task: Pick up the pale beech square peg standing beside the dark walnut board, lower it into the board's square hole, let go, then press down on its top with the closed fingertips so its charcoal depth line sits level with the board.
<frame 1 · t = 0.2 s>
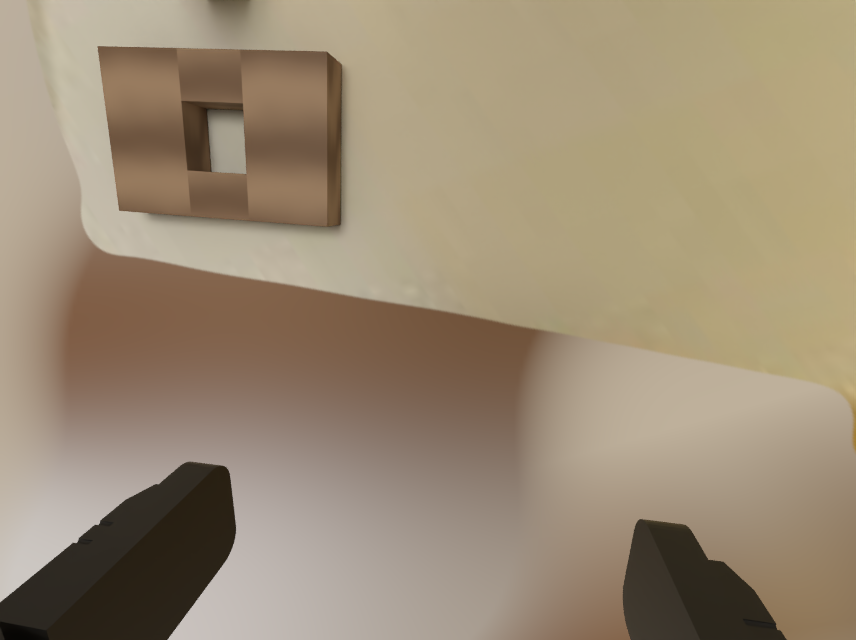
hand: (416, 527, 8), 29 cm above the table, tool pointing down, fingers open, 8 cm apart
walnut board: (236, 142, 36), on the table
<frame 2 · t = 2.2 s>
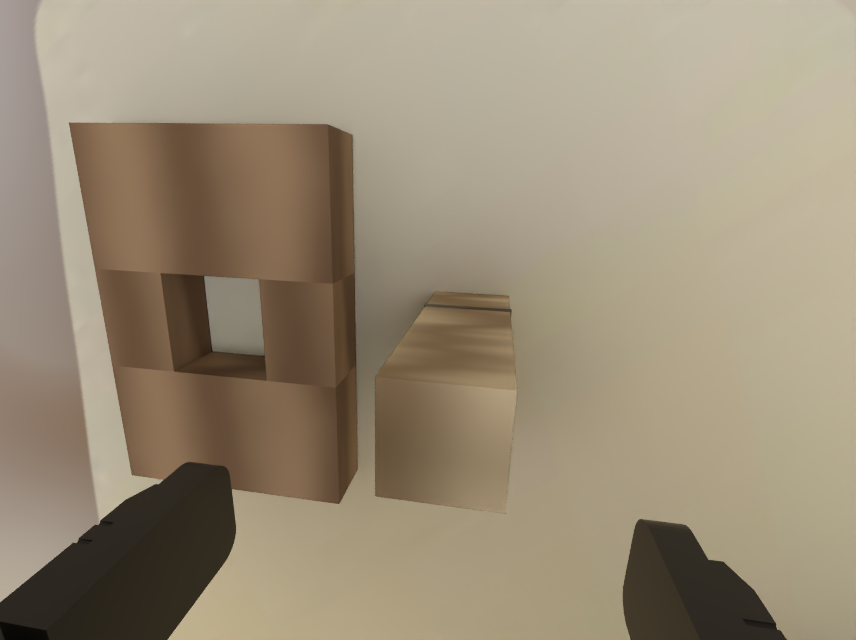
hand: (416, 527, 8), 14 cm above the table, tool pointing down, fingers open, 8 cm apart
walnut board: (248, 312, 24), on the table
beech peg: (469, 328, 22), on the table
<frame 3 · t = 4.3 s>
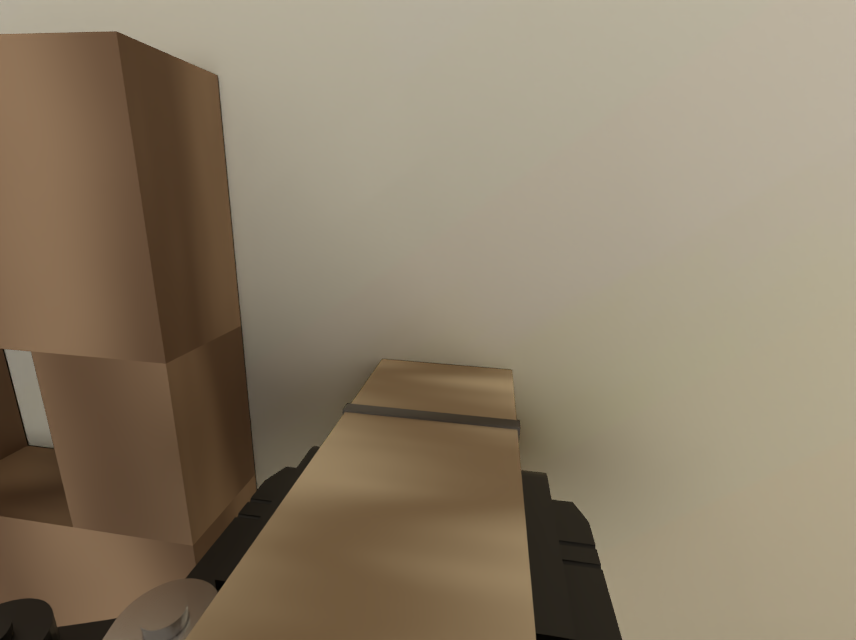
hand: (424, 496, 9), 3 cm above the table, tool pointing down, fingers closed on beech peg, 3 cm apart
walnut board: (76, 386, 14), on the table
beech peg: (443, 422, 12), on the table, touching gripper
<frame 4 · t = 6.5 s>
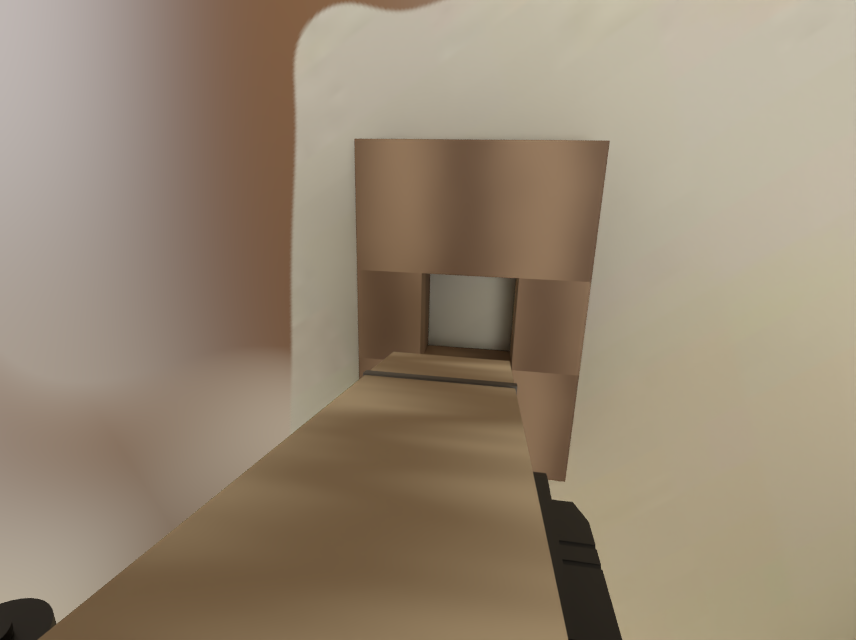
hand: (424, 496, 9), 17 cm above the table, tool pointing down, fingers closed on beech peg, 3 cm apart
walnut board: (470, 308, 26), on the table
beech peg: (446, 412, 14), point 13 cm above the table, tilted 9°, touching gripper
when the fingers open (5 cm above the table, at t = 9.1 s): beech peg stays where it is, resting in walnut board.
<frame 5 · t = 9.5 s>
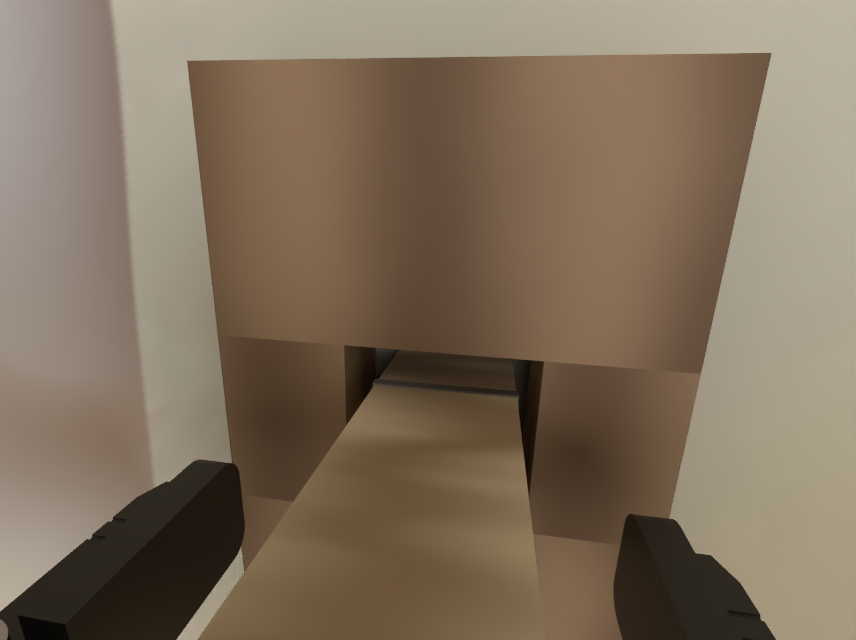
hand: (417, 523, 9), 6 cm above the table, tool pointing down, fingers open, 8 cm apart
walnut board: (449, 392, 14), on the table
beech peg: (452, 403, 14), resting in walnut board
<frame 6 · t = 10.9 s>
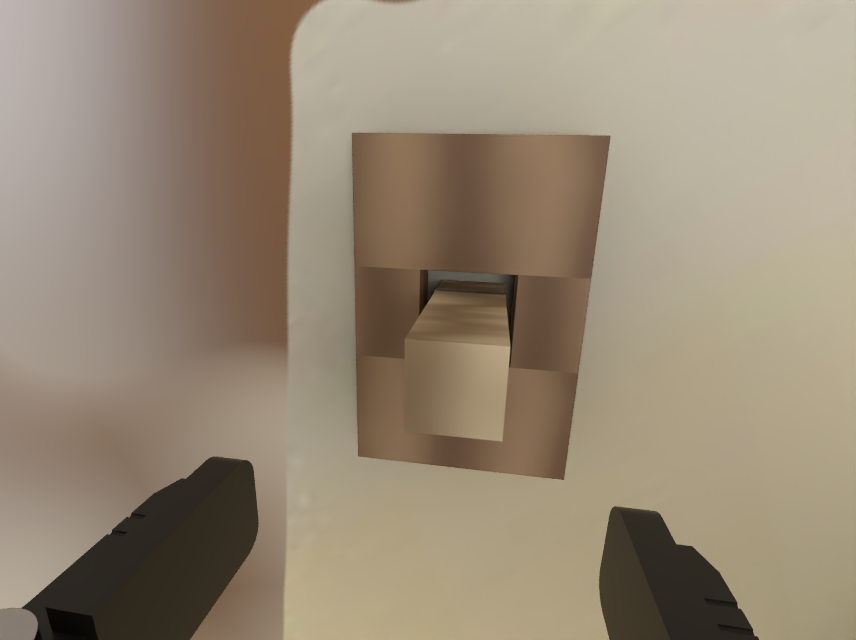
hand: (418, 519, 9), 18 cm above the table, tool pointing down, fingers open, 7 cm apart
walnut board: (469, 305, 26), on the table
beech peg: (471, 311, 26), resting in walnut board
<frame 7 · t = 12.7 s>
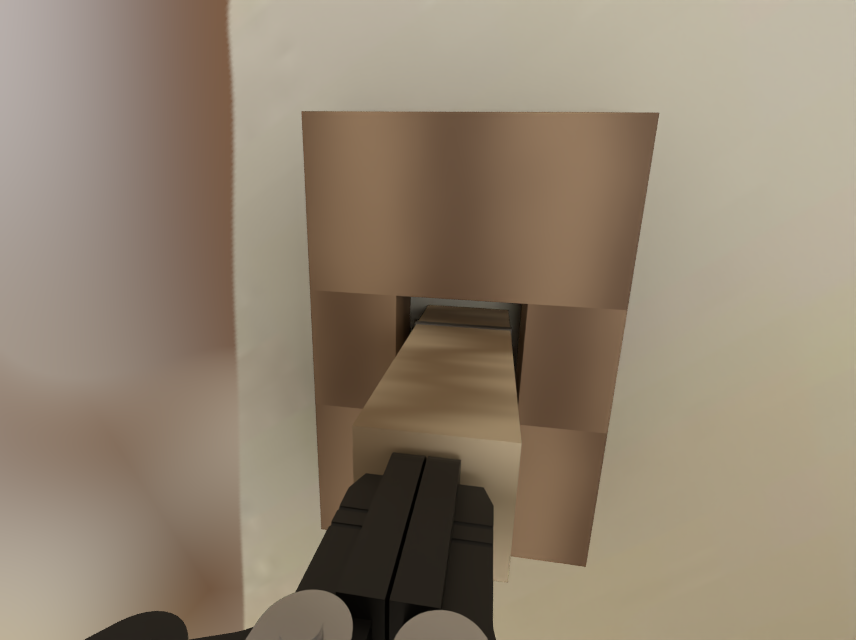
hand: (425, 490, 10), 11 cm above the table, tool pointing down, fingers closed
walnut board: (463, 337, 20), on the table
beech peg: (465, 345, 20), resting in walnut board, touching gripper
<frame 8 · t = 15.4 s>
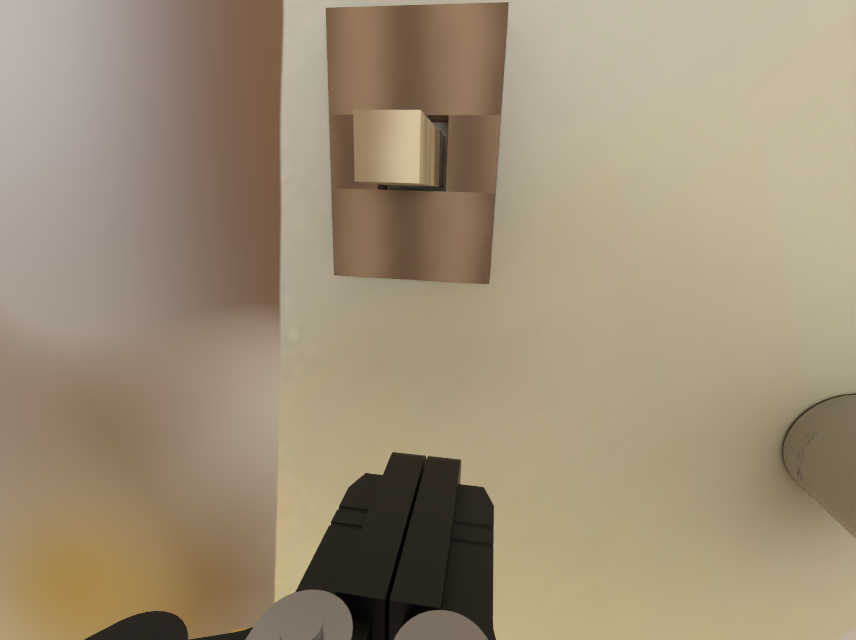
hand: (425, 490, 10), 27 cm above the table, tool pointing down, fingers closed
walnut board: (419, 157, 33), on the table
beech peg: (420, 162, 33), resting in walnut board
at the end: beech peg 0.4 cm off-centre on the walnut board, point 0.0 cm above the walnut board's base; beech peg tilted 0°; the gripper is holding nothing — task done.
